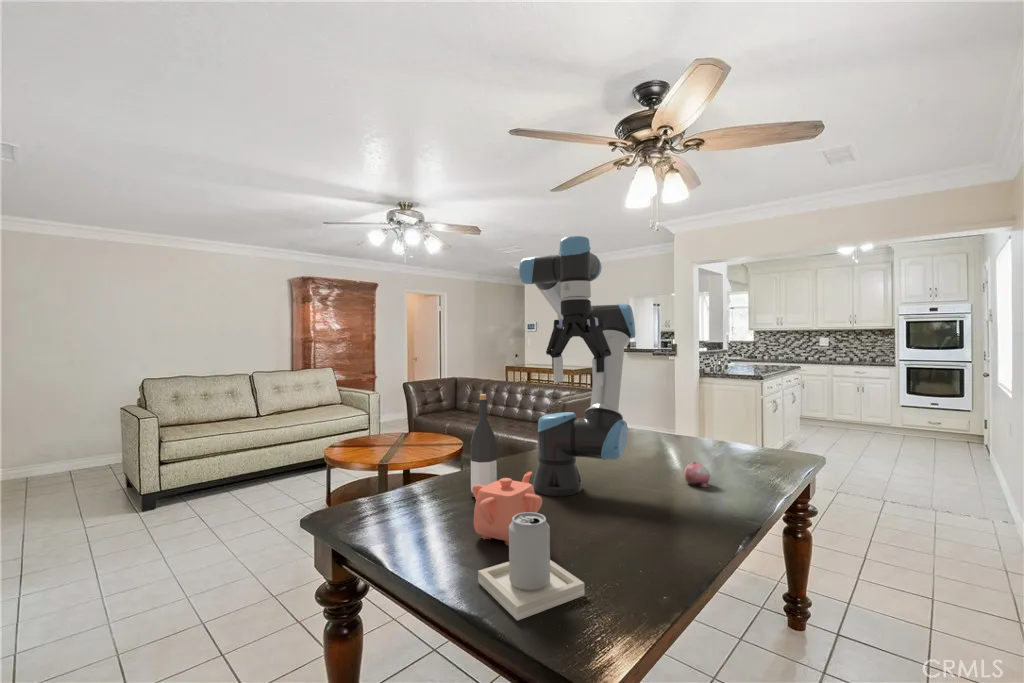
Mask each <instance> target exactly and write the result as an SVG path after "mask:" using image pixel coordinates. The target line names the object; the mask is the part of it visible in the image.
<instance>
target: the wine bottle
mask: <svg viewBox="0 0 1024 683" xmlns="http://www.w3.org/2000/svg"><path fill="white" fill-rule="evenodd" d="M478 403H479V404H478V405H479V406H478V410H479V411H478V416H479V418H478V419H479V420H478V421H477V424H476V425H475V428H474V430H473V433H472V435H471V440H470V490H471V491H470V492H471V493H470V494H471V497H472V496H473V497H474V494H473V491H472V488H473V486H474V485H477V484H480V485H488V484H490V483H493V482H495V481H498V472H497V468H498V467H497V466H498V465H497V457H498V454H497V440H496V437H495V434H494V432H493V431H494V430H493V429H492V427H491V425H490V423H489V421H488V399H487V394H486V393H481V394H479V399H478Z"/></svg>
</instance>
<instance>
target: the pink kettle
mask: <svg viewBox="0 0 1024 683" xmlns="http://www.w3.org/2000/svg"><path fill="white" fill-rule="evenodd" d="M532 474H533V471H528V472H526V473H525V474H524V475H523V478H522V480H521V481H519V480H513V479H512V478H510V477H502V478H500V479H499V480H498V479H497V481H495V482H493V483H490V484H488V485H480V484H477V485H474V486H473V488H472V491H473V494H474V497H475V498H474V499H475V504H474V510H473V512H474V513H473V527H474V530H475V533H476V534H478V535H481V539H482V538H483V539H482V540H485V539H489V540H492V539H495V540H501V541H503V542H504V544H506V545H505V546H507V545H508V547H509V525H510V524H511V523H512V522H513V521H512V518H513V517H514V516H515V515H516V514H519V513H524V512H534V513H539V511H540V509H541V508H542V505H543V498H542V497H541V496H540V495H537V494H536V492H535V491H534V489H533V483H530V478H531V477H532ZM491 538H492V539H491Z"/></svg>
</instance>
